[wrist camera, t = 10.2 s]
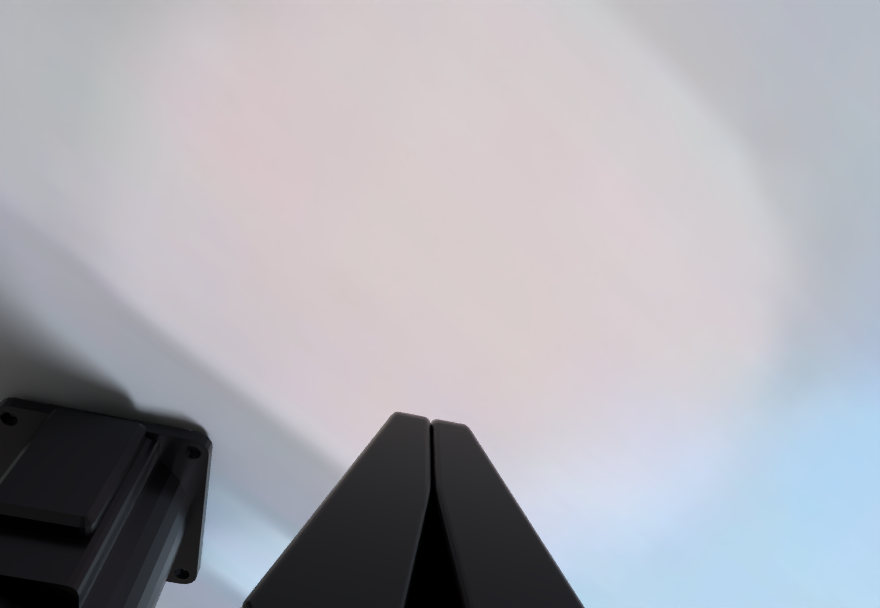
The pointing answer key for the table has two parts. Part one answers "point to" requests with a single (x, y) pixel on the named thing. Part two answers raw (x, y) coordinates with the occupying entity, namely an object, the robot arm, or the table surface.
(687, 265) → the table surface
